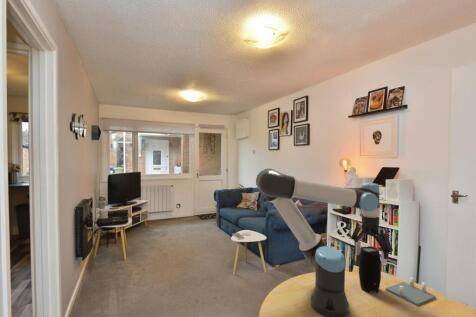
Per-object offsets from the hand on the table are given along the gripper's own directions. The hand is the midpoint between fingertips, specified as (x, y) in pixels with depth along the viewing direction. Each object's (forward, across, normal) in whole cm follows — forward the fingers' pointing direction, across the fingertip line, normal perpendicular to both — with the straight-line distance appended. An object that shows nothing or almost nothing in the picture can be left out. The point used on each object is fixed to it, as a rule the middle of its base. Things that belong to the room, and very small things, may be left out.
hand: (370, 259), depth 119 cm
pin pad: (+14, -11, -12) cm, 22 cm away
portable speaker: (+14, 0, 0) cm, 14 cm away
